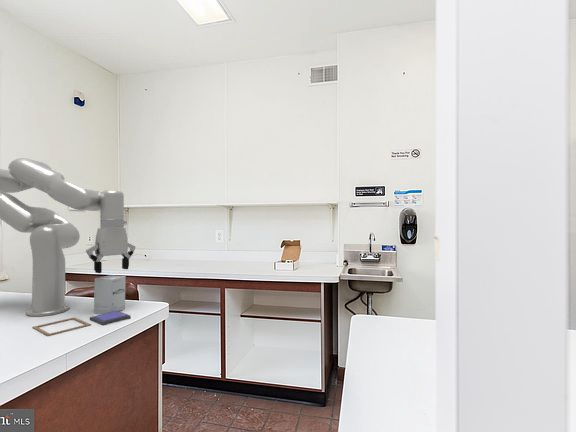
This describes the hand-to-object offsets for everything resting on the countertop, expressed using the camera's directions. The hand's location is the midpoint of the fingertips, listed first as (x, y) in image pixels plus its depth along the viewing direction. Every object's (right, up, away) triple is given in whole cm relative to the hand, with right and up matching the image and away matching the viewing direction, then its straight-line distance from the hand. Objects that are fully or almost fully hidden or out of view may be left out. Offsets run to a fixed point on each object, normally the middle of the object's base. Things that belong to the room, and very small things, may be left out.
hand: (112, 270), depth 116 cm
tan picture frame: (-6, -15, -17) cm, 23 cm away
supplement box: (-1, -15, 0) cm, 15 cm away
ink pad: (+4, -15, -9) cm, 18 cm away
